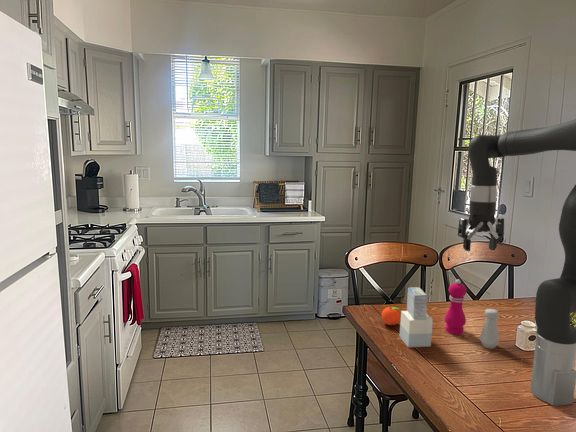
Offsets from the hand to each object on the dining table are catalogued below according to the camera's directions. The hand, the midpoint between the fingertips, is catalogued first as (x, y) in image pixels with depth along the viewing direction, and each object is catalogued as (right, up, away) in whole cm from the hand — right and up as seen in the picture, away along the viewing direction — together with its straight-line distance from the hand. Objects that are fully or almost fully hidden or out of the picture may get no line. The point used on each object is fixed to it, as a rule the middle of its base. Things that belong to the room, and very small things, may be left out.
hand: (479, 250), depth 129 cm
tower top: (-17, -28, +12) cm, 35 cm away
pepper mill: (0, -32, +21) cm, 38 cm away
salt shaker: (+8, -34, +10) cm, 36 cm away
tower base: (-17, -33, +13) cm, 39 cm away
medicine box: (-17, -24, +11) cm, 31 cm away
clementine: (-21, -31, +26) cm, 46 cm away
